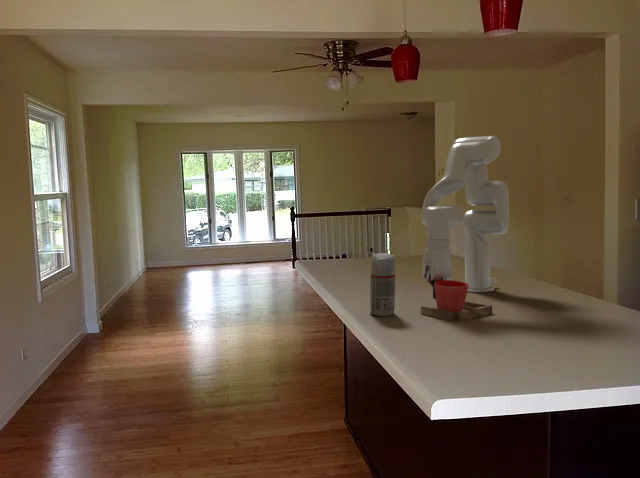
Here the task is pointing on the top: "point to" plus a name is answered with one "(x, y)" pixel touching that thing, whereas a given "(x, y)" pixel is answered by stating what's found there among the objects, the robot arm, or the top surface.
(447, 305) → the flower pot
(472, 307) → the wooden bars
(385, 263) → the spray can
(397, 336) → the top surface
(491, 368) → the top surface
